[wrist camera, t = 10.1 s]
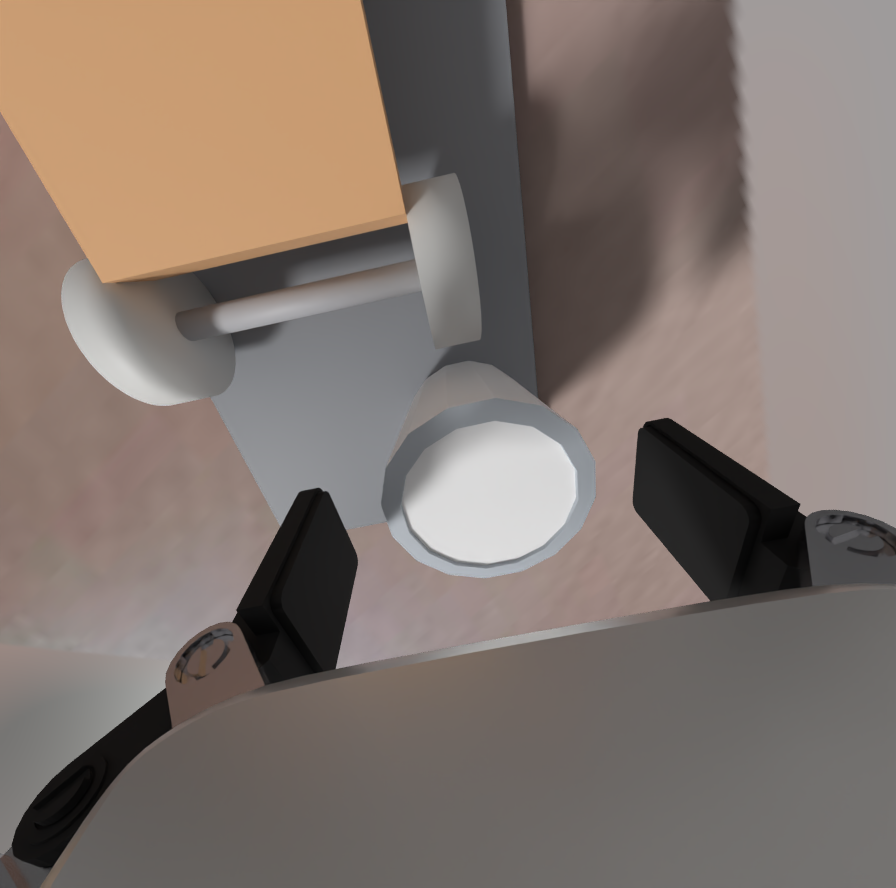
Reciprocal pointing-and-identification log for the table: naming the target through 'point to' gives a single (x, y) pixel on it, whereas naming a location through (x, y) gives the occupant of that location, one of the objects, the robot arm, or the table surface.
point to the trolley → (217, 174)
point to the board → (394, 319)
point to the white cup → (485, 475)
